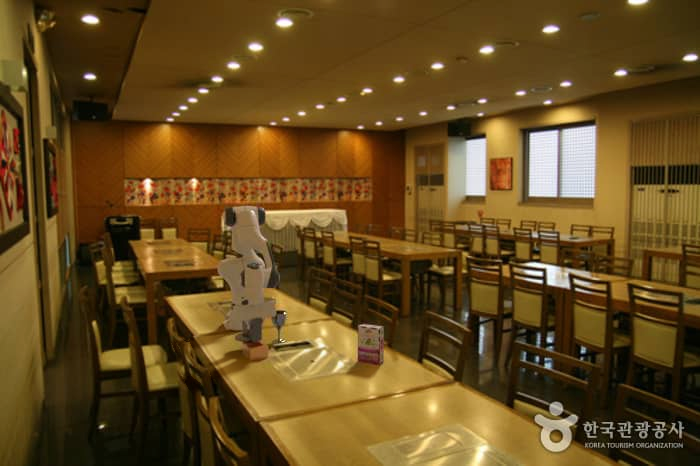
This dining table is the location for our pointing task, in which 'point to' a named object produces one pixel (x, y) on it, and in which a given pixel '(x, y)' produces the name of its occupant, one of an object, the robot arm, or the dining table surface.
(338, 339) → the dining table surface
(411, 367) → the dining table surface
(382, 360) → the candy bar box
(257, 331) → the dark brown upright block
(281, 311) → the wine glass
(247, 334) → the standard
